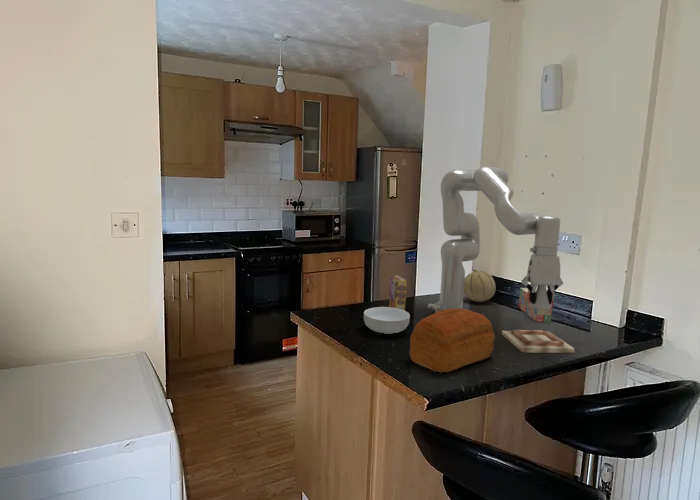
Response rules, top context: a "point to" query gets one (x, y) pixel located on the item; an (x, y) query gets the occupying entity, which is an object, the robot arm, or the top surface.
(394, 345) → the top surface
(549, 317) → the stack of blocks
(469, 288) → the cantaloupe
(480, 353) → the bread
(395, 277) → the candy box
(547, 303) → the flask
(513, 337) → the board
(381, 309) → the cereal bowl
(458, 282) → the robot arm
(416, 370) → the top surface
